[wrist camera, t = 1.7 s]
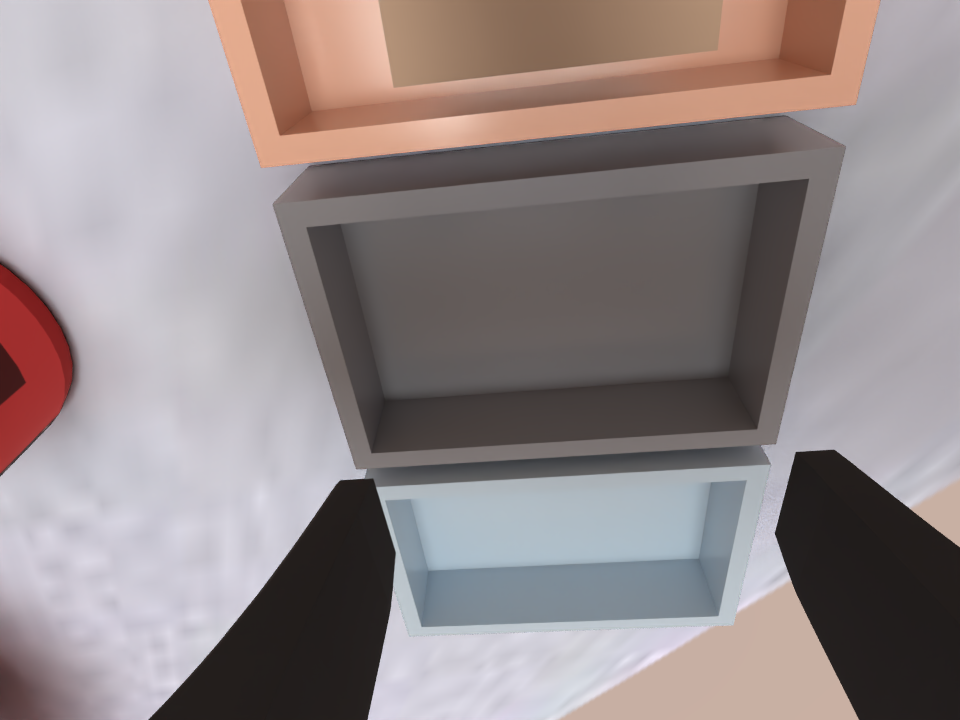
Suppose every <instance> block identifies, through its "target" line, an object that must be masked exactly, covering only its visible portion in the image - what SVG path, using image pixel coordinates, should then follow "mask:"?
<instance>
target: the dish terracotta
mask: <svg viewBox="0 0 960 720" xmlns="http://www.w3.org/2000/svg"><path fill="white" fill-rule="evenodd" d="M208 1H209V4H210V7H211V10H212V14H213V17H214V20H215V23H216V26H217V30H218V33H219V36H220V39H221V42H222V45H223V49H224V52H225V55H226V58H227V61H228V64H229V68H230V71H231V74H232V77H233V80H234V83H235V87H236V90H237V93H238V96H239V99H240V102H241V106H242V109H243V112H244V115H245V118H246V121H247V125H248V128H249V131H250V134H251V137H252V140H253V144H254V147H255V150H256V153H257V156H258V160H259V163H260V166H261V168H265V167H274V166H284V165H293V164H303V163H312V162H321V161H331V160H340V159H350V158H359V157H368V156H378V155H387V154H397V153H406V152H415V151H425V150H434V149H444V148H453V147H463V146H472V145H481V144H491V143H500V142H510V141H519V140H528V139H538V138H547V137H557V136H566V135H575V134H585V133H594V132H604V131H613V130H622V129H632V128H641V127H651V126H660V125H670V124H679V123H688V122H698V121H707V120H717V119H726V118H735V117H745V116H754V115H764V114H773V113H782V112H792V111H801V110H811V109H820V108H829V107H839V106H848V105H856V102H857V98H858V93H859V89H860V85H861V81H862V76H863V72H864V68H865V64H866V59H867V55H868V51H869V47H870V42H871V38H872V34H873V30H874V25H875V21H876V17H877V13H878V8H879V4H880V0H723V5H722V14H721V23H720V33H719V42H718V50H716V51H707V52H699V53H690V54H681V55H673V56H664V57H655V58H647V59H638V60H630V61H621V62H612V63H604V64H595V65H586V66H578V67H569V68H561V69H552V70H543V71H535V72H526V73H517V74H509V75H500V76H492V77H483V78H474V79H466V80H457V81H448V82H440V83H431V84H423V85H414V86H405V87H397V88H394V87H393V81H392V75H391V70H390V64H389V58H388V53H387V47H386V41H385V36H384V30H383V24H382V19H381V13H380V7H379V2H378V0H208Z"/></svg>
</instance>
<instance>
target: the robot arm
mask: <svg viewBox="0 0 960 720" xmlns="http://www.w3.org/2000/svg"><path fill="white" fill-rule="evenodd" d="M775 535H776V538H777V541H778V544H779V547H780V550H781V553H782V556H783V559H784V562H785V565H786V567H787V570H788V573H789V575H790V578H791V581H792V584H793V586H794V589H795V591H796V594H797V596H798V598H799V600H800V602H801V604H802V606H803V608H804V610H805V612H806V614H807V616H808V618H809V620H810V622H811V625H812V626H813V629H814V630H815V633H816V635H817V636H818V639H819V641H820V643H821V645H822V647H823V649H824V651H825V653H826V655H827V656H828V659H829V660H830V663H831V665H832V667H833V669H834V671H835V673H836V675H837V677H838V678H839V680H840V683H841V684H842V686H843V689H844V690H845V693H846V694H847V696H848V698H849V700H850V702H851V704H852V706H853V708H854V710H855V712H856V714H857V716H858V718H859V720H960V547H959V546H957V545H956V544H955V543H953V542H952V541H951V540H949V539H948V538H946V537H945V536H944V535H943V534H941V533H940V532H939V531H937V530H936V529H935V528H934V527H932V526H931V525H930V524H928V523H927V522H926V521H924V520H923V519H922V518H921V517H919V516H918V515H917V514H916V513H914V512H913V511H912V510H910V509H909V508H908V507H907V506H905V505H904V504H903V503H902V502H900V501H899V500H898V499H896V498H895V497H894V496H893V495H891V494H890V493H889V492H888V491H886V490H885V489H884V488H883V487H881V486H880V485H879V484H878V483H876V482H875V481H874V480H873V479H871V478H870V477H869V476H867V475H866V474H865V473H864V472H862V471H861V470H860V469H859V468H857V467H856V466H855V465H854V464H852V463H851V462H850V461H848V460H847V459H846V458H845V457H843V456H842V455H841V454H839V453H838V452H837V451H835V450H822V451H806V452H796V454H795V458H794V461H793V465H792V469H791V473H790V477H789V481H788V485H787V489H786V492H785V496H784V500H783V504H782V508H781V512H780V516H779V520H778V523H777V527H776V531H775ZM395 558H396V551H395V548H394V545H393V541H392V538H391V535H390V531H389V528H388V525H387V521H386V518H385V515H384V512H383V508H382V505H381V502H380V498H379V495H378V492H377V488H376V485H375V482H374V478H371V479H355V480H340V481H339V482H338V483H337V484H336V486H335V487H334V489H333V490H332V491H331V493H330V494H329V496H328V497H327V499H326V500H325V502H324V503H323V505H322V506H321V507H320V509H319V510H318V512H317V513H316V515H315V516H314V518H313V519H312V521H311V522H310V523H309V525H308V526H307V528H306V529H305V531H304V532H303V533H302V535H301V536H300V538H299V539H298V541H297V542H296V543H295V545H294V546H293V548H292V549H291V550H290V552H289V553H288V554H287V556H286V557H285V559H284V560H283V561H282V563H281V564H280V565H279V567H278V568H277V569H276V571H275V572H274V573H273V575H272V576H271V577H270V579H269V580H268V581H267V583H266V584H265V586H264V587H263V588H262V589H261V591H260V592H259V593H258V595H257V596H256V597H255V598H254V600H253V601H252V602H251V603H250V605H249V606H248V607H247V608H246V610H245V611H244V612H243V613H242V615H241V616H240V617H239V618H238V620H237V621H236V622H235V623H234V624H233V626H232V627H231V628H230V629H229V631H228V632H227V633H226V634H225V636H224V637H223V638H222V639H221V640H220V642H219V643H218V644H217V645H216V646H215V648H214V649H213V650H212V651H211V652H210V653H209V654H208V656H207V657H206V658H205V659H204V660H203V661H202V663H201V664H200V665H199V666H198V667H197V668H196V669H195V670H194V672H193V673H192V674H191V675H190V676H189V677H188V678H187V679H186V680H185V681H184V683H183V684H182V685H181V686H180V687H179V688H178V689H177V690H176V691H175V692H174V693H173V695H172V696H171V697H170V698H169V699H168V700H167V701H166V702H165V703H164V704H163V705H162V706H161V707H160V708H159V709H158V710H157V711H156V712H155V713H154V714H153V716H152V717H151V718H150V719H149V720H367V719H368V715H369V710H370V705H371V700H372V696H373V691H374V686H375V682H376V677H377V672H378V668H379V663H380V658H381V653H382V649H383V644H384V639H385V634H386V629H387V624H388V619H389V614H390V609H391V600H392V591H393V581H394V569H395Z"/></svg>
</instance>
